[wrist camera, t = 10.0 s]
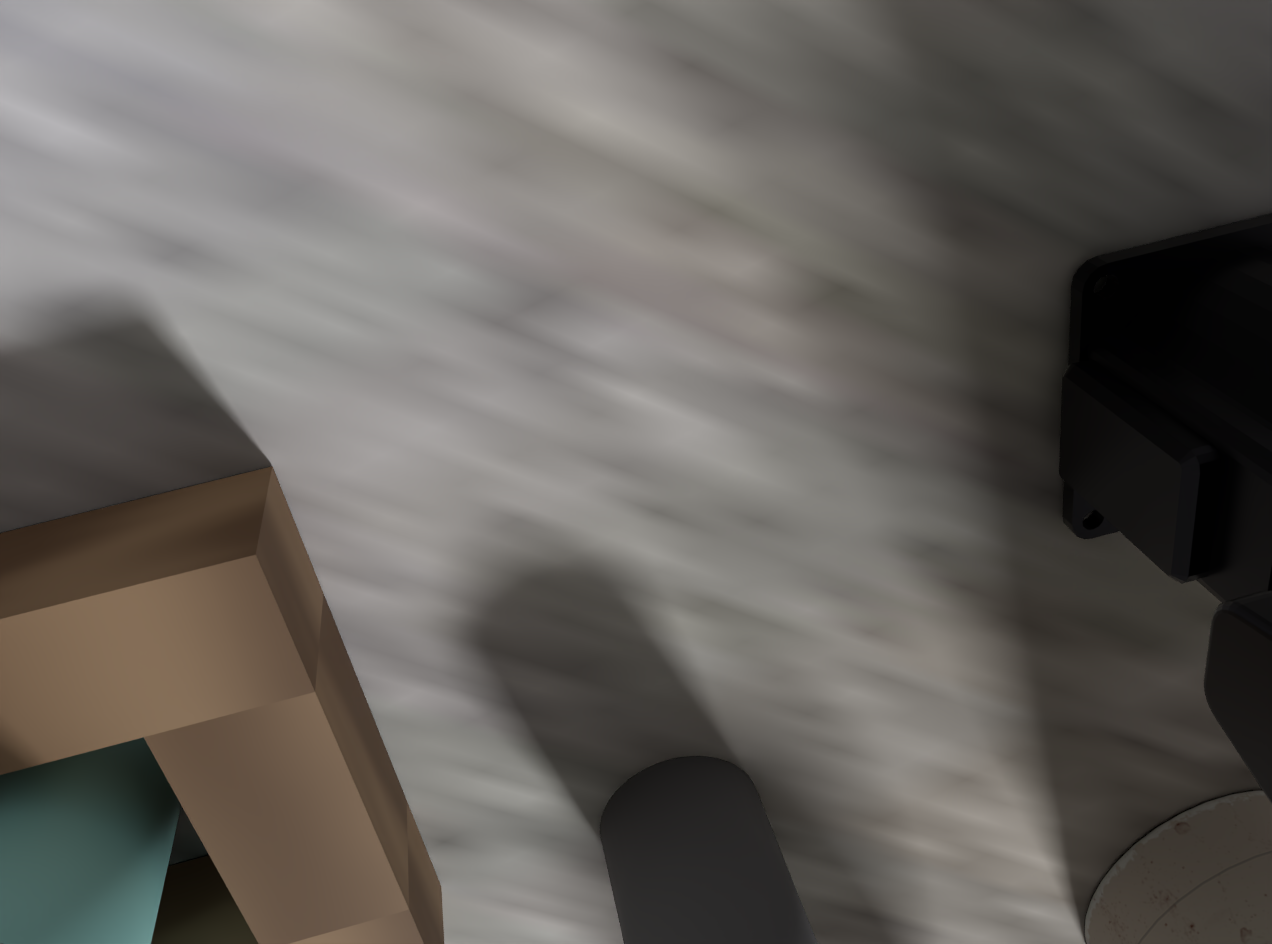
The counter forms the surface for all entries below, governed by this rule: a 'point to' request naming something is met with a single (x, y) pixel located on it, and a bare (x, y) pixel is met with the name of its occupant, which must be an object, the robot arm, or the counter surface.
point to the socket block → (217, 711)
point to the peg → (85, 847)
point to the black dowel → (698, 859)
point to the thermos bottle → (1192, 880)
